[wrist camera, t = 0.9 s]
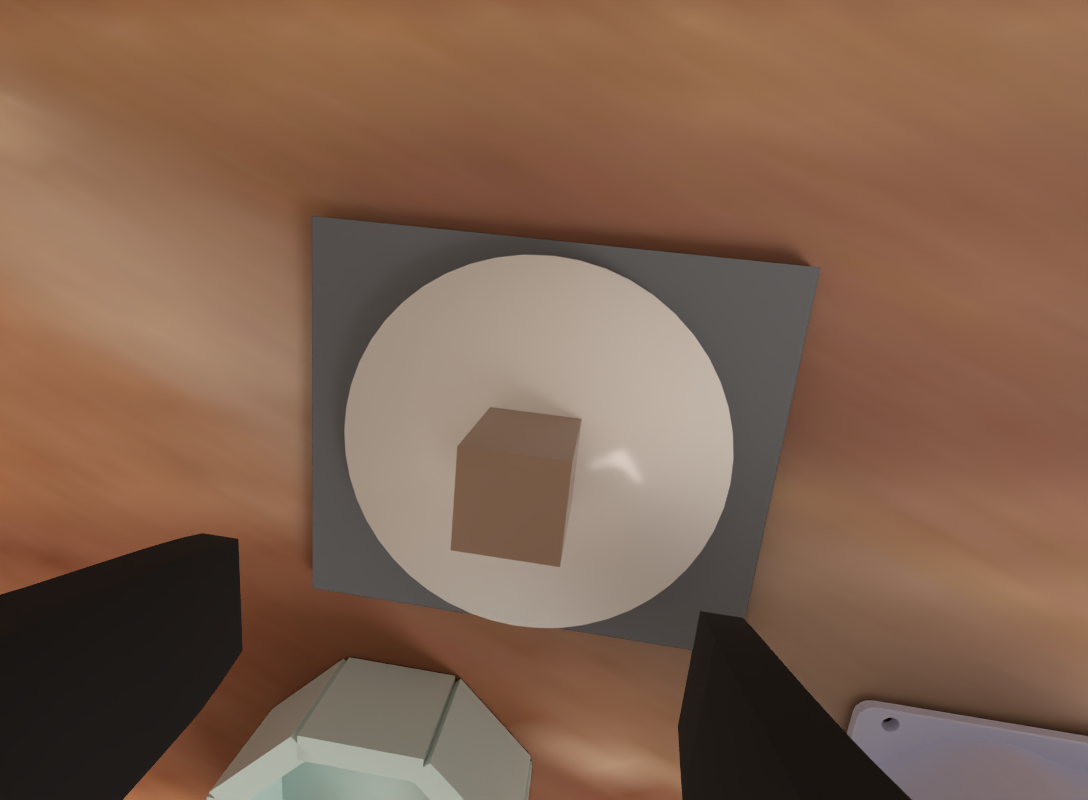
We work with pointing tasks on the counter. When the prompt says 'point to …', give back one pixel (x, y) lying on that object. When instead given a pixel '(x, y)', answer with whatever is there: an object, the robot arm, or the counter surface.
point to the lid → (539, 441)
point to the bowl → (379, 742)
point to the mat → (674, 278)
